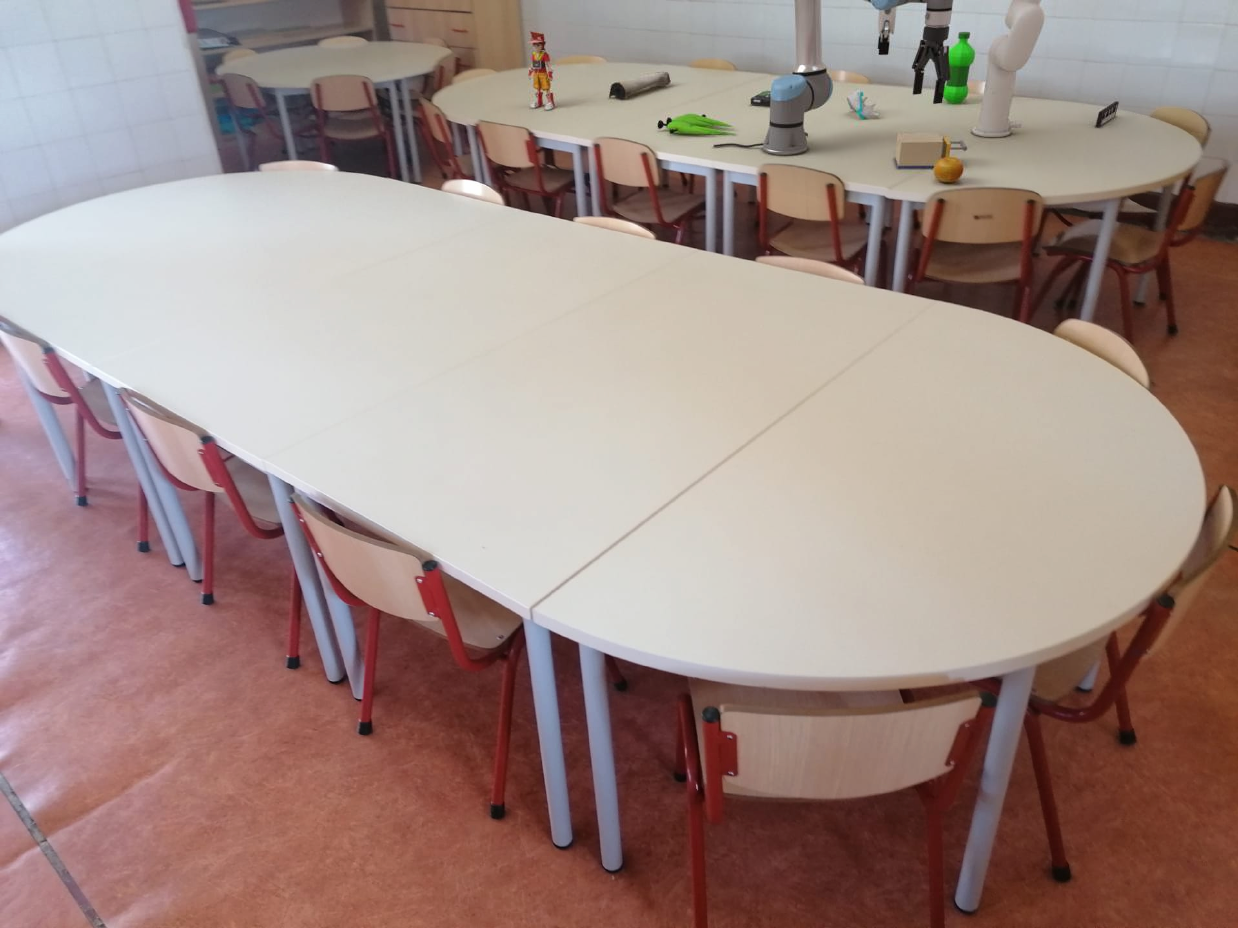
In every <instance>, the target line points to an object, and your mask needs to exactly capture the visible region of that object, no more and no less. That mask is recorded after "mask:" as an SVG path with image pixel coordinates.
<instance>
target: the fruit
mask: <svg viewBox="0 0 1238 928" xmlns="http://www.w3.org/2000/svg"><path fill="white" fill-rule="evenodd" d="M964 170H965V169H964V164H963V162H962V161H961V160H960V159H959V158H957V157H955V156H949V157H945V158H942V159H940V160H939V161H937V163H936V164H935V166H934V168H933V177H935V179H936V180H937V181H938V182H941V183H954V182H956V181H958V180H959V179H960V178H961V177H962V175H963V173H964Z"/></svg>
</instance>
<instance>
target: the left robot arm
mask: <svg viewBox="0 0 1238 928" xmlns="http://www.w3.org/2000/svg"><path fill="white" fill-rule="evenodd" d="M863 1H864V2H867V3H871V5H872V7H874V8H875V10H878V11H879V10H889V9H892V8H894V7H896V8H897V7H899V6H904V5H907V4H913V3H915V4H926V7H925V10H926V11H925V14H924V25H925V26H924V27H923V30H922V31H923V32H922V39H920V40H919V46H918V49H917V52H916V54H915V57H914V60H913V62H912V65H911V69H912V70H913V72H914V80H913V87H912V95H913V96H915V95H922V93H923V85H924V78H925V68H926V67H927V65H928V63H929V61H930V60H931V62H933V64H934V68H935V74H936V78H937V79H936V80H935V87H934V92H933V99H932V100H933V102H932V104H933V105H938V104H943V101H944V100H943V99H944V97H943V94H944V88H945V85H946V83H947V80H950V78H951V77H950V65H949V50H950V45H944V42H945V41H947V40H948V39H949V35H950V26H949V25H951V21H952V13H953V5H954V0H863ZM794 23H795V25H794V26H795V27H794V28H795V29H794V30H795V52H796V53H795V58H796V59H795V60H796V65H795V66H794V67H793V69H792V70H791V72H792V73H791V74H787V75H782V76H779V77H776V78H775V79H774V80H773V81H772V83H771V87H770V91H771V92H770V106H769V125H768V129H767V132H766V135H765V138H764V141H763V142H760V143H754V144H740V143H735V142H734V143H733V142H732V143H731V142H730V143H719V144H713V148H717V147H719V148H720V147H726V146H728V147H729V146H732V147H733V146H734V147H740V148H753V147H760V146H762V151H763V152H765V153H767V154H770V155H774V156H794V155H800V154H803V153H805V152H807V150H808V140H807V138H808V137H809V133H808V132H805V131H806V130H805V128H804V125H805V124H804V121H805V113H807V112H810V111H813V110H817V109H819V108H821V107H822V106H823V105H825V104H827V102H828V101H829V100H830V99H831V97H832V94H833V90H834V83H833V79H832V77H831V76H830V74H829V73H828V70H827V69H828V67H827V65H826V64H825V63H824V62H823V48H822V45H823V44H822V41H823V40H822V0H794Z"/></svg>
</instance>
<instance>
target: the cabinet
mask: <svg viewBox="0 0 1238 928" xmlns="http://www.w3.org/2000/svg"><path fill="white" fill-rule="evenodd" d="M942 139H943V138H942V137H941V135H940V133H939V132H898V133H897V138H896V144H895V145H896V146H895V153H894V155H895V156H894V160H895V164H896V167H897V169H898V170H899V169H900V170H901V169H934V166H935V164H936V163H937V161H939V160H940V159H941V153H942V146H943V141H942Z"/></svg>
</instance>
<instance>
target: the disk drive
mask: <svg viewBox="0 0 1238 928" xmlns="http://www.w3.org/2000/svg"><path fill="white" fill-rule="evenodd" d="M770 92H771V90H764V91H762V92H760V93H757V94H756V95H754V96H752V97H751V98H750V105H752V106H753V105H754V106H762V107H770Z"/></svg>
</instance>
